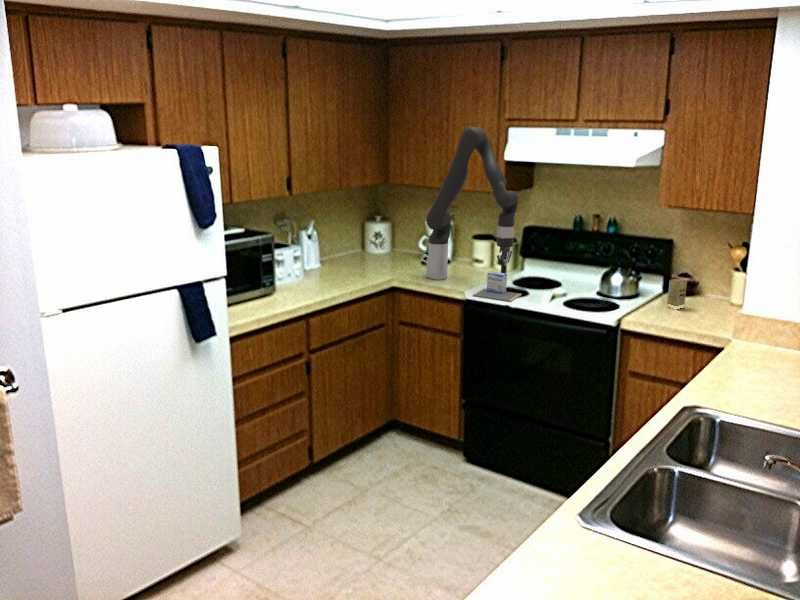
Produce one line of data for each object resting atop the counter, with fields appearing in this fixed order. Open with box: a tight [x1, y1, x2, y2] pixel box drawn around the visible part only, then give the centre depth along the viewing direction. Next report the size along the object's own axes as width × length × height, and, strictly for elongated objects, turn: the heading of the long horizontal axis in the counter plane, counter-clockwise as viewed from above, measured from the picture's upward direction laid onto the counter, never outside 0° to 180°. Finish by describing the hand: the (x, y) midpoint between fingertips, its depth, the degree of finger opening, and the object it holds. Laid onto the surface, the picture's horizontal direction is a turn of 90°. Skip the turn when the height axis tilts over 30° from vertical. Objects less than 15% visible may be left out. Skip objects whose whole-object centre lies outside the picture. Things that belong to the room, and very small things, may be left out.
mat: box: [472, 287, 522, 303], centre depth 335 cm, size 18×13×1 cm
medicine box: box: [486, 271, 508, 294], centre depth 338 cm, size 8×4×9 cm, turn 62°
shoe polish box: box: [666, 278, 688, 306], centre depth 318 cm, size 5×5×12 cm
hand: (503, 273), depth 344 cm, fingers closed
